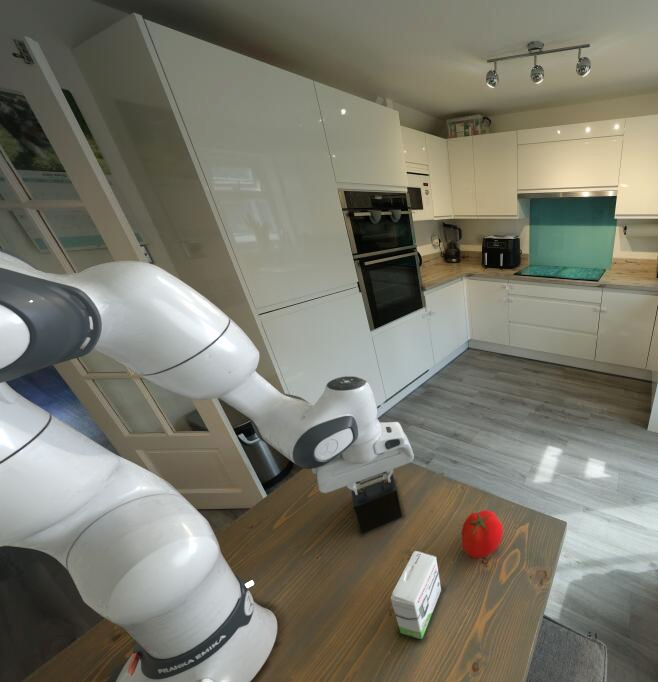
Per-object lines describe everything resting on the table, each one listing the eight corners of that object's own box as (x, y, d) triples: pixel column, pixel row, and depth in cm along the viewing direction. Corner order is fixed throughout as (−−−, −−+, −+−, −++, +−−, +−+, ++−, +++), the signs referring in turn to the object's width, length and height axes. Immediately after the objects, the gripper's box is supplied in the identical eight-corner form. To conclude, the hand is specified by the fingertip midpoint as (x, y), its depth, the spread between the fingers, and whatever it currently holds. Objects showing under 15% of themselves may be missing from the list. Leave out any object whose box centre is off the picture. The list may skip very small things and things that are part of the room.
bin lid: (397, 492, 76) (394, 477, 74) (354, 509, 72) (349, 494, 69) (387, 456, 86) (384, 442, 84) (349, 469, 82) (345, 455, 80)
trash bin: (402, 516, 81) (396, 489, 76) (362, 534, 76) (353, 506, 72) (393, 481, 91) (387, 456, 86) (357, 495, 86) (349, 469, 82)
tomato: (508, 532, 77) (508, 509, 73) (490, 574, 68) (489, 550, 65) (474, 519, 80) (473, 496, 77) (454, 558, 71) (451, 534, 68)
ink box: (422, 640, 58) (414, 606, 53) (398, 632, 59) (388, 598, 54) (442, 589, 66) (436, 555, 61) (420, 583, 67) (414, 549, 62)
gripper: (307, 470, 62) (324, 516, 67) (411, 435, 71) (418, 479, 77) (308, 449, 67) (324, 494, 72) (405, 420, 76) (412, 462, 82)
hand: (373, 486), depth 75 cm, fingers closed on bin lid, 5 cm apart
